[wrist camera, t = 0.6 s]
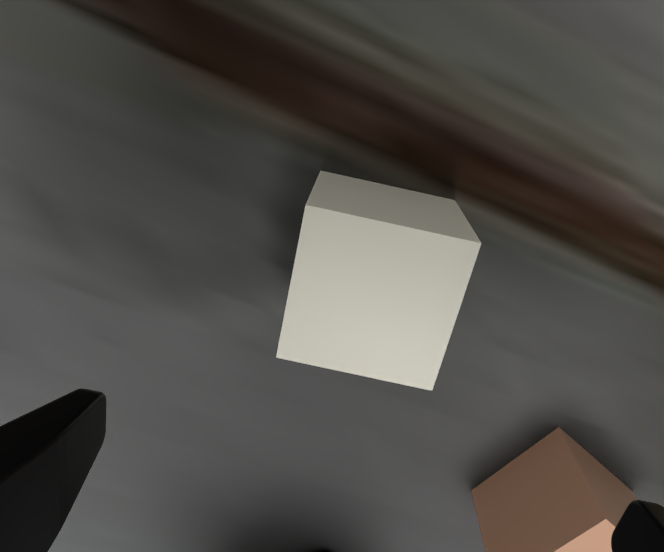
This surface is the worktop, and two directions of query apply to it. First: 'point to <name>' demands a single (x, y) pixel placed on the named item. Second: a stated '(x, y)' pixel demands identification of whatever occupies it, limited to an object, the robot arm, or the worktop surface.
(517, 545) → the terracotta cube
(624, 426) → the worktop surface
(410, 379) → the cream cube
